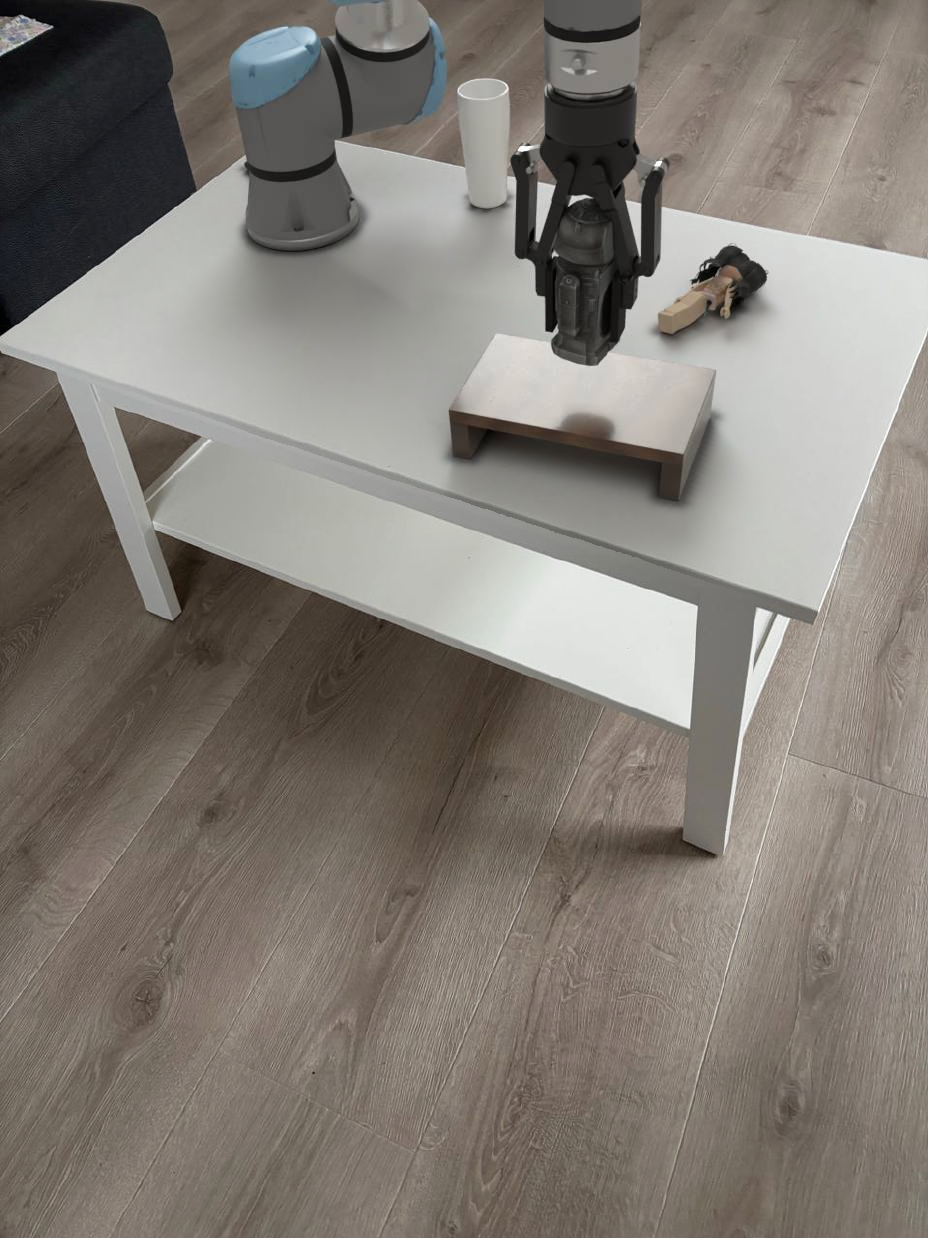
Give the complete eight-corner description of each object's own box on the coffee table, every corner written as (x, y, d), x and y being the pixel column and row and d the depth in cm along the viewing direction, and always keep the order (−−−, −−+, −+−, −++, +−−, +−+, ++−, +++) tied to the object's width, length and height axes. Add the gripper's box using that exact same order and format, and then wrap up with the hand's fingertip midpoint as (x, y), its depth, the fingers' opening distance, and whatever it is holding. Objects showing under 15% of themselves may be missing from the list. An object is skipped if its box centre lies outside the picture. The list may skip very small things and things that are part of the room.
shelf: (452, 455, 114) (448, 409, 109) (498, 378, 122) (495, 332, 118) (678, 501, 107) (683, 454, 103) (710, 416, 115) (716, 369, 111)
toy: (579, 315, 110) (583, 170, 98) (631, 330, 107) (641, 184, 96) (537, 359, 105) (535, 212, 94) (590, 376, 103) (595, 228, 92)
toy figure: (704, 351, 124) (774, 287, 130) (702, 302, 119) (775, 238, 126) (652, 336, 128) (722, 275, 134) (648, 288, 123) (721, 227, 130)
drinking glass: (508, 213, 147) (504, 100, 136) (459, 211, 148) (451, 99, 137) (516, 189, 151) (513, 77, 140) (468, 187, 152) (462, 76, 141)
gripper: (466, 90, 88) (480, 335, 105) (695, 112, 83) (671, 367, 100) (497, 53, 93) (506, 294, 110) (716, 72, 87) (690, 322, 104)
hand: (585, 328), depth 105 cm, fingers closed on toy, 6 cm apart
